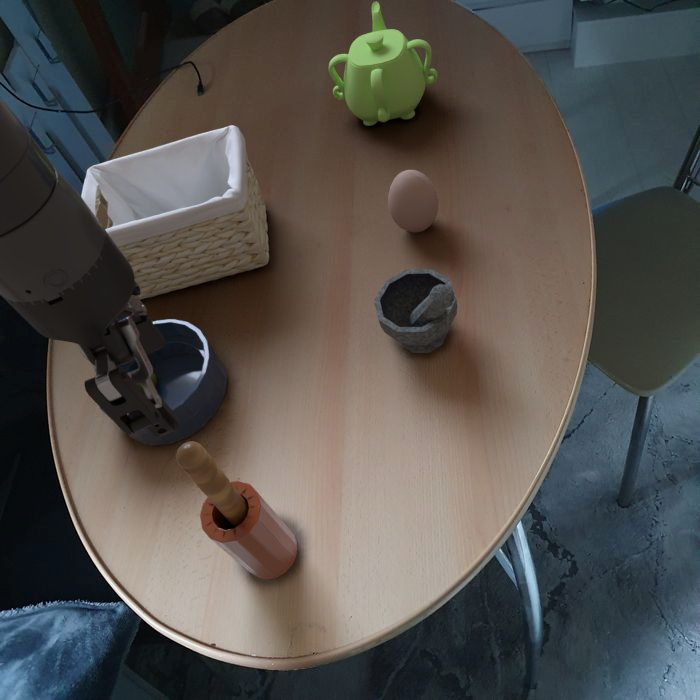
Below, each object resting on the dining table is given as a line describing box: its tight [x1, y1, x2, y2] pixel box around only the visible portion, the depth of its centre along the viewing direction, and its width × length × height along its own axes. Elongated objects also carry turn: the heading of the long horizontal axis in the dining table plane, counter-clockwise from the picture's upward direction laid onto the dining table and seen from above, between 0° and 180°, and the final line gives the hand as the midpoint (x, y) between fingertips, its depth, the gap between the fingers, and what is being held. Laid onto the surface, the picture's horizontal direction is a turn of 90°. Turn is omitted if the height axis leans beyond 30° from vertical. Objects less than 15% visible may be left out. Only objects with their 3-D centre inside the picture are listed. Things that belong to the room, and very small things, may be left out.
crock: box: [199, 480, 298, 580], centre depth 69 cm, size 6×6×12 cm
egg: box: [387, 169, 439, 233], centre depth 92 cm, size 7×7×10 cm
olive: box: [136, 373, 157, 393], centre depth 89 cm, size 3×3×3 cm
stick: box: [175, 440, 249, 528], centre depth 64 cm, size 2×2×22 cm
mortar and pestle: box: [373, 268, 458, 354], centre depth 80 cm, size 11×9×12 cm
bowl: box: [98, 318, 228, 446], centre depth 86 cm, size 15×15×6 cm
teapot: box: [328, 0, 439, 127], centre depth 109 cm, size 16×14×13 cm
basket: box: [80, 124, 270, 301], centre depth 98 cm, size 24×16×15 cm
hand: (161, 386), depth 55 cm, fingers open, 8 cm apart
